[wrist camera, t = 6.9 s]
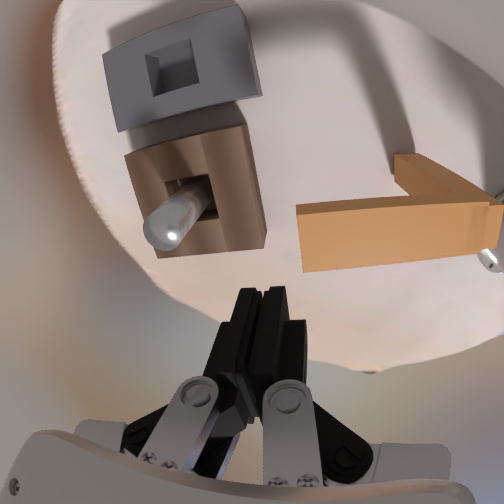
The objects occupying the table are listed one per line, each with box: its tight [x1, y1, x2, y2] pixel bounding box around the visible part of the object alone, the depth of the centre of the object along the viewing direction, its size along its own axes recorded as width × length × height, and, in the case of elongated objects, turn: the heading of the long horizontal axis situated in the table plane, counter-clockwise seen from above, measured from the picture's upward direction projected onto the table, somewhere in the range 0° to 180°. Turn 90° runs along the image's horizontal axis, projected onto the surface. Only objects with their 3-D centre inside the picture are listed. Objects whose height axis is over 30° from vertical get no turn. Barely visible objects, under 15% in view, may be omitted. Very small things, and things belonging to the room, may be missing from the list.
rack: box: [102, 5, 262, 133], centre depth 22 cm, size 14×9×4 cm, turn 101°
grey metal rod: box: [143, 176, 214, 251], centre depth 25 cm, size 3×3×10 cm
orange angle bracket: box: [296, 153, 504, 273], centre depth 20 cm, size 14×4×15 cm, turn 101°
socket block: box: [124, 123, 267, 259], centre depth 28 cm, size 12×12×4 cm
